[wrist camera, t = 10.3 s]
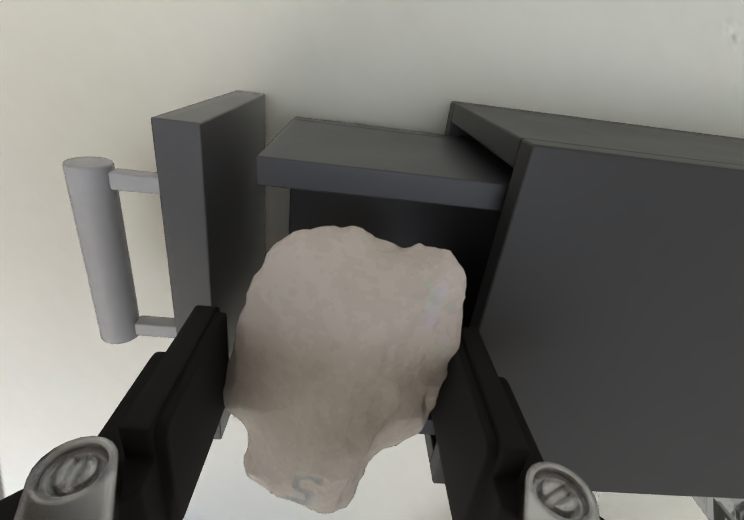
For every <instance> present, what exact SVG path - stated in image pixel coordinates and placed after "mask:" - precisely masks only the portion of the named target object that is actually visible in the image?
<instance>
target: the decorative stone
mask: <svg viewBox="0 0 744 520" xmlns="http://www.w3.org/2000/svg"><path fill="white" fill-rule="evenodd" d="M466 286H467V285H466V275H465V272H464V269H463V267H462V266H461V265H460V264H459V263H458V261H457V260H456V258H455V257H454V255H453V254H452V252H451V251H449V250H446V249H438V248H436V247H428V246H424V245H422V244H421V243H418V244H415V245H413V246H412V247H408V248H401V247H399V246H397V245H396V244H394V243H391V242H389V241H386V240H381V239H378V238H376V237H374V236H373V235H372V234H371V233H368V232H366V231H365V230H364V229H363V228H360V227H357V226H348V227H343V228H340V227H337V226H322V227H317V228H313V229H311V230H308V229H302V230H298V231H295V232H292V233H291V234H289V235H288V236H286V237H285V238H284V239H282V240H280V241H279V242H277V243H276V244H275V245H274V246H272V248H271V249H270V250H269V252H268V253H267V255H266V258H265V261H264V264H263V266H262V268H261V269H260V270H259V271H258V272H257V273H256V274H255V275H254V277H253V280H252V282H251V285H250V287H249V290H248V292H247V293H246V305H245V307H244V308H243V310H242V312H241V314H240V316H239V320H238V323H237V326H236V335H235V339H234V343H233V351H232V353H231V356H230V359H229V361H228V365H227V372H226V382H225V386H224V389H223V397H224V405H225V407H226V408H227V410H228V411H229V412H230V413H231V414H232V415H233V416H234V417H236V418H238V419H239V420H241V421H242V423H243V424H244V425H245V427H246V429H247V432H248V448H247V451H246V453H245V455H244V467H245V471H246V475H247V476H248V477H249V478H250V479H252V480H254V481H255V482H257V483H258V484H260V485H261V486H263V487H264V488H266V489H267V490H269V492H270V493H271V494H274V495H275V496H277V497H280V498H283V499H287V500H291V501H293V502H296V503H298V504H301V505H303V506H305V507H307V508H309V509H311V510H314V511H316V512H318V513H322V514H327V513H333V512H335V511H337V510H339V509H342V508H345V507H347V505H348V504H349V503H350V501H351V500H352V499H353V497H354V494H355V491H356V488H357V485H358V483H359V481H360V479H361V477H362V476H363V475H364V472H365V468H366V466H367V464H368V462H369V461H370V460H371V459H372V457H373V456H374V455H376V454H377V453H378V452H379V451H381V450H382V449H384V448H388V447H392V446H396V445H398V444H399V443H401V442H402V441H404V440H405V439H407V438H409V437H411V436H413V435H416V434H418V433H419V432H420V431H421V430H422V429H423V427H424V425H425V423H426V421H427V419H428V416H429V413H430V412H431V410H432V409H433V408H434V407H435V405H436V403H437V402H436V399H437V397H438V394H439V390H440V387H441V385H442V383H443V382H444V380H445V379H446V377H447V374H448V371H447V366H448V362H449V361H450V359H451V358H452V357H453V356H454V354H455V353H456V352H457V350H458V349H459V346H460V338H461V326H462V319H463V301H464V299H465V297H466V296H465V291H466Z"/></svg>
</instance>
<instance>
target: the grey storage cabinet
mask: <svg viewBox="0 0 744 520" xmlns="http://www.w3.org/2000/svg"><path fill="white" fill-rule="evenodd" d="M445 135H449V136H457V137H465V138H473V139H475V140H477V141H478V142H479V143H481V144H482V145H483V146H485V147H486V148H487V149H489V150H490V151H491V152H493V153H494V154H495V155H497V156H498V157H499V158H501V159H502V160H503V161H505V162H506V163H507V164H508V165H510V166H511V167H512V168H514V170H513V173H512V177H511V180H510V184H509V188H508V191H507V195H506V198H505V202H504V205H503V209H502V212H501V216H500V219H499V223H498V226H497V230H496V233H495V237H494V241H493V244H492V248H491V251H490V255H489V258H488V262H487V265H486V269H485V272H484V276H483V279H482V283H481V286H480V290H479V294H478V297H477V301H476V304H475V308H474V311H473V315H472V318H471V322H470V325H469V328H477V329H478V331H479V332H480V335H481V337H482V339H483V342H484V344H485V346H486V349H487V351H488V353H489V356H490V358H491V360H492V363H493V365H494V367H495V370H496V372H497V374H498V377H504V378H505V379H506V380H507V381H508V383H509V385H510V387H511V389H512V392H513V394H514V396H515V398H516V400H517V403H518V405H519V407H520V409H521V412H522V414H523V416H524V418H525V420H526V423H527V425H528V427H529V429H530V431H531V434H532V436H533V438H534V440H535V442H536V445H537V447H538V449H539V451H540V453H541V456H542V458H543V460H544V462H546V461H549V462H553V463H557V464H560V465H562V466H564V467H566V468H568V469H570V470H572V471H573V472H574V473H576V474H577V475H578V476H580V477H581V478H582V480H583V481H584V482H585V483H586V484H587V485H588V486H589V488H590V489H591V491H599V492H618V493H638V494H657V495H676V496H696V497H715V498H735V499H744V139H741V138H733V137H725V136H718V135H710V134H702V133H695V132H687V131H679V130H672V129H664V128H656V127H648V126H641V125H633V124H625V123H618V122H610V121H602V120H595V119H587V118H579V117H571V116H564V115H556V114H548V113H541V112H533V111H525V110H518V109H510V108H502V107H495V106H487V105H479V104H471V103H464V102H456V101H453V102H452V103H451V106H450V111H449V116H448V121H447V126H446V131H445ZM425 440H426V445H427V451H428V457H429V462H430V468H431V474H432V480H433V483H444V484H445V480H444V475H443V470H442V465H441V460H440V455H439V450H438V445H437V440H436V435H431V434H425Z"/></svg>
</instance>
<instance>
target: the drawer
mask: <svg viewBox="0 0 744 520" xmlns="http://www.w3.org/2000/svg"><path fill="white" fill-rule="evenodd" d="M151 124H152V132H153V141H154V149H155V158H156V166H157V173H156V172H147V171H138V170H128V169H119V168H117V169H115V167H114V163H113V161H112V160H110V159H107V158H102V157H76V158H71V159H67V160H65V161H64V162H63V164H62V166H63V170H64V175H65V179H66V184H67V188H68V192H69V197H70V201H71V206H72V210H73V215H74V219H75V224H76V228H77V232H78V237H79V241H80V246H81V250H82V255H83V259H84V264H85V268H86V273H87V277H88V281H89V286H90V290H91V295H92V299H93V304H94V308H95V313H96V317H97V321H98V326H99V330H100V335H101V338H102V340H103V341H105V342H106V343H110V344H121V343H126V342H129V341H131V340H133V339H135V338H136V337H137V336H138V335H142V336H155V337H168V338H175V337H176V336H177V334H178V333H179V331H180V329H181V328H182V326H183V325H184V323H185V322H186V320H187V318H188V317H189V315H190V314H191V312H192V311H193V309H194V308H195V306H197V305H203V306H215V307H219V309H220V312H222V313H226V315H227V329H228V350H229V359H230V356H231V353H232V351H233V343H234V339H235V335H236V326H237V323H238V320H239V316H240V314H241V312H242V310H243V308H244V307H245V305H246V293H247V292H248V290H249V287H250V285H251V282H252V280H253V277H254V275H255V274H256V273H257V272H258V271H259V270H260V269H261V268H262V266H263V264H264V261H265V186H272V187H281V188H290V216H289V234H291V233H292V232H295V231H298V230H302V229H308V230H311V229H313V228H317V227H322V226H337V227H340V228H343V227H348V226H357V227H360V228H363V229H364V230H365V231H366V232H368V233H371V234H372V235H373V236H374V237H376V238H378V239H381V240H386V241H389V242H391V243H394V244H396V245H397V246H399V247H401V248H408V247H412V246H413V245H415V244H418V243H421V244H422V245H424V246H428V247H436V248H438V249H446V250H449V251H451V252H452V254H453V255H454V257H455V258H456V260H457V261H458V263H459V264H460V265H461V266H462V267H463V269H464V272H465V275H466V285H467V286H466V291H465V296H466V297H465V299H464V301H463V319H462V326H461V327H468V328H469V325H470V322H471V318H472V315H473V311H474V308H475V304H476V301H477V297H478V294H479V290H480V286H481V283H482V279H483V276H484V272H485V269H486V265H487V262H488V258H489V255H490V251H491V248H492V244H493V241H494V237H495V233H496V230H497V226H498V223H499V219H500V216H501V212H502V209H503V205H504V202H505V198H506V195H507V191H508V188H509V184H510V180H511V177H512V173H513V170H514V168H512V167H511V166H510V165H508V164H507V163H506V162H505V161H503V160H502V159H501V158H499V157H498V156H497V155H495V154H494V153H493V152H491V151H490V150H489V149H487V148H486V147H485V146H483V145H482V144H481V143H479V142H478V141H477V140H475V139H473V138H465V137H457V136H449V135H440V134H432V133H424V132H416V131H408V130H400V129H392V128H383V127H375V126H367V125H359V124H351V123H343V122H335V121H326V120H318V119H310V118H302V117H295V118H294V119H293V120H292V121H291V122H290V123H289V124H288V125H287V126H286V127H285V128H284V129H283V130H282V131H281V132H280V133H279V134H278V135H277V136H276V137H275V138H274V139H273V140H272V141H271V142H270V143H269V144H268V145H267V146H266V147H265V94H261V93H253V92H245V91H234V92H231V93H227V94H224V95H221V96H218V97H215V98H212V99H208V100H205V101H202V102H199V103H196V104H193V105H189V106H186V107H183V108H180V109H177V110H174V111H170V112H167V113H164V114H161V115H158V116H155V117H151ZM118 190H121V191H131V192H141V193H150V194H160V199H161V208H162V216H163V225H164V233H165V241H166V250H167V258H168V267H169V275H170V283H171V292H172V300H173V308H174V317H175V318H167V317H154V316H140V317H139V311H138V305H137V299H136V293H135V287H134V281H133V275H132V269H131V263H130V257H129V251H128V245H127V239H126V233H125V227H124V221H123V215H122V209H121V203H120V197H119V191H118ZM229 416H230V412H229V411H228V410H227V408H226V407H225V409H224V412H223V414H222V417H221V420H220V422H219V425H218V428H217V430H216V433H215V436H214V438H213V439H221V438H222V436H223V433H224V430H225V427H226V425H227V422H228V419H229ZM418 434H431V435H435V430H434V425H433V420H432V415H431V412H430V413H429V416H428V419H427V421H426V423H425V425H424V427H423V429H422V430H421V431H420V432H419V433H418Z"/></svg>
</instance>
